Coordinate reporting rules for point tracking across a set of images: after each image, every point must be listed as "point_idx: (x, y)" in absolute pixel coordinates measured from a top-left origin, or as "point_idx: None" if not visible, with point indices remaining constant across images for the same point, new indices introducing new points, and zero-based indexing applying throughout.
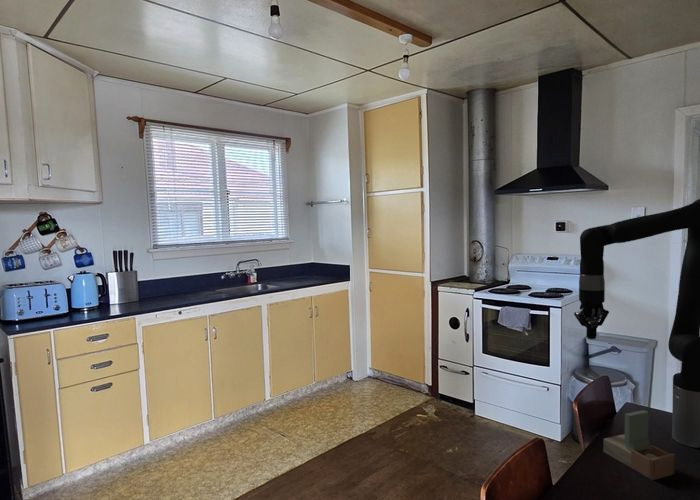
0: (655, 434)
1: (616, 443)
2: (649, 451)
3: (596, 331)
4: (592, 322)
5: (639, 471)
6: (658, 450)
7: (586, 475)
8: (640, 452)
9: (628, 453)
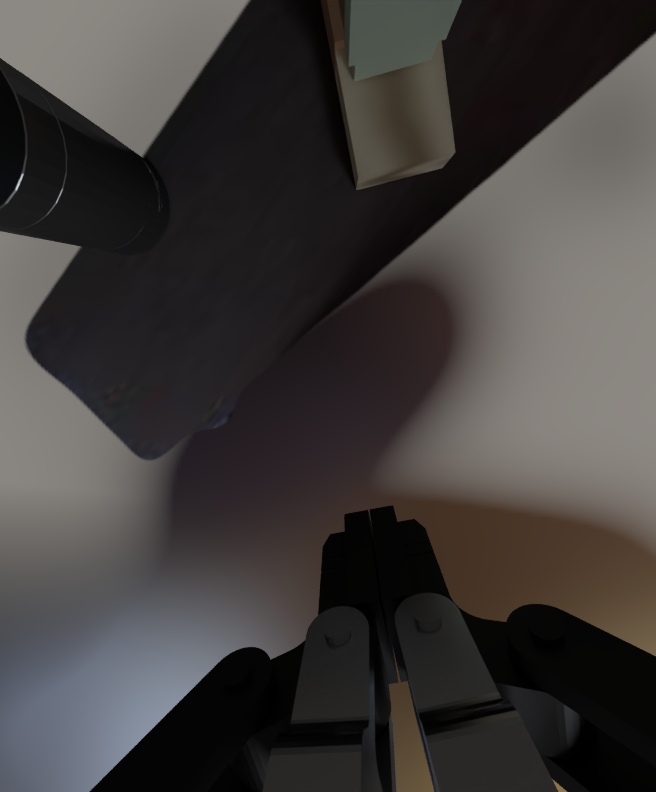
0: (201, 261)
1: (434, 108)
2: None
3: (320, 584)
4: (453, 701)
5: None
6: (338, 3)
7: (594, 29)
8: None
9: None
